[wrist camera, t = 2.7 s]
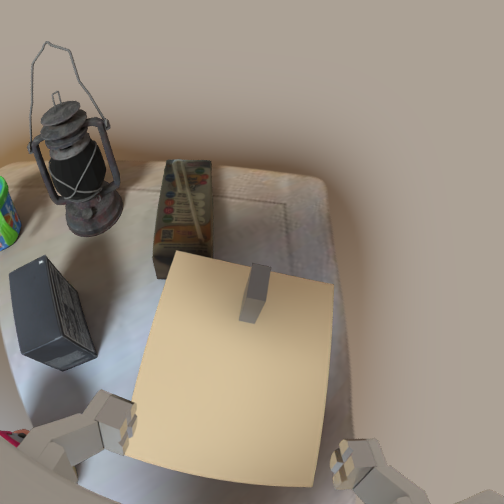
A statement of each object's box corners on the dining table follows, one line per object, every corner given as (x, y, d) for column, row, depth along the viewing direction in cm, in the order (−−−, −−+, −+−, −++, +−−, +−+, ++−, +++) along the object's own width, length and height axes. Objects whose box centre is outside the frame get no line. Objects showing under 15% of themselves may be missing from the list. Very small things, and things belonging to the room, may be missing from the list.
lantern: (61, 245, 39) (-17, 78, 13) (63, 198, 43) (13, 48, 18) (131, 226, 42) (92, 35, 17) (125, 181, 47) (101, 19, 22)
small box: (42, 305, 33) (6, 271, 24) (77, 290, 35) (46, 251, 27) (60, 373, 29) (18, 355, 20) (99, 357, 31) (64, 335, 22)
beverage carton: (211, 184, 50) (213, 155, 44) (213, 283, 40) (214, 259, 34) (167, 183, 48) (164, 155, 43) (156, 283, 38) (148, 259, 33)
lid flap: (309, 485, 19) (337, 501, 13) (122, 452, 18) (98, 461, 13) (331, 287, 30) (356, 257, 25) (176, 254, 29) (172, 216, 24)
